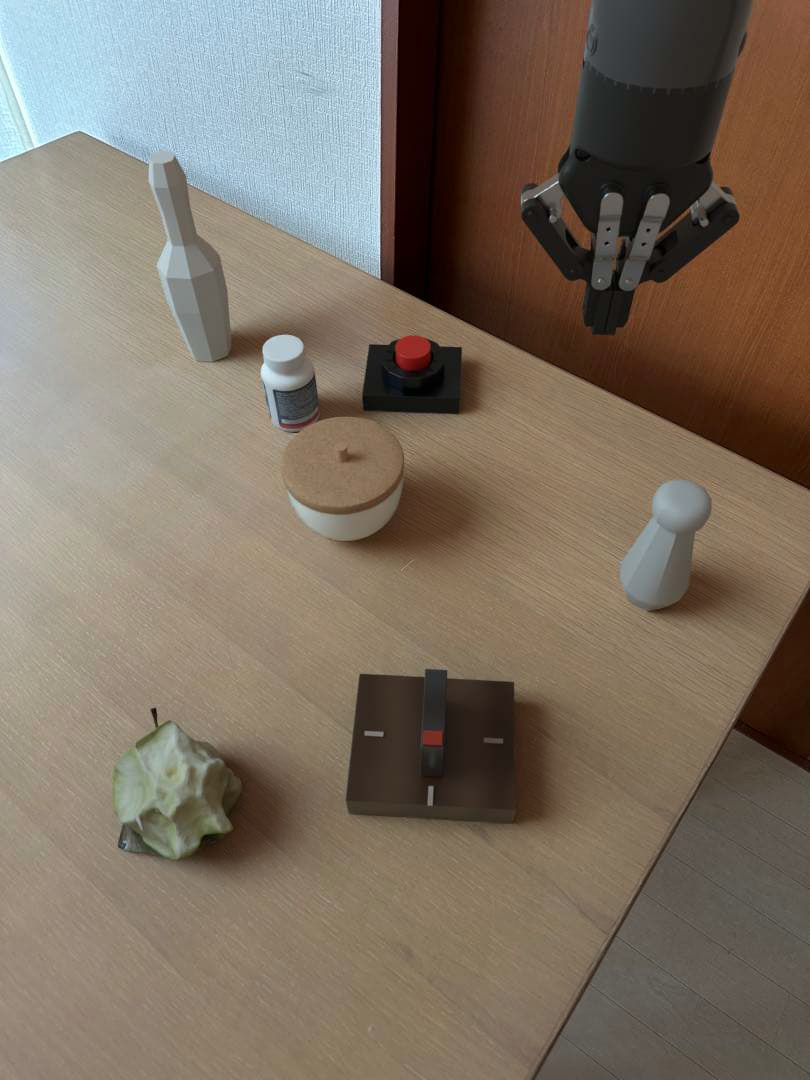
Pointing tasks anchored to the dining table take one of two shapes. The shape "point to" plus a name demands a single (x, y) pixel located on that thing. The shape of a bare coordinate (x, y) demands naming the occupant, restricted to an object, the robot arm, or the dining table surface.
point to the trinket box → (344, 477)
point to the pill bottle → (289, 384)
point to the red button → (413, 353)
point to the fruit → (172, 794)
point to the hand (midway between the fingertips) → (601, 327)
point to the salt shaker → (665, 546)
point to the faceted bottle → (189, 266)
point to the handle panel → (469, 751)
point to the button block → (412, 381)
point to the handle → (433, 723)
